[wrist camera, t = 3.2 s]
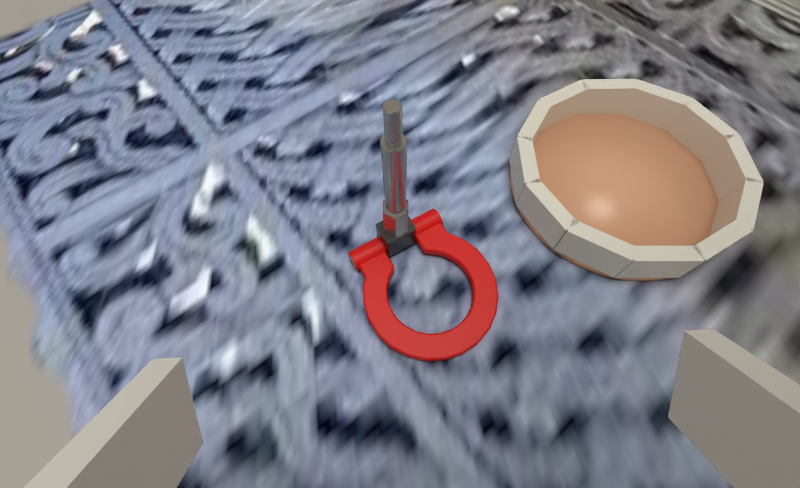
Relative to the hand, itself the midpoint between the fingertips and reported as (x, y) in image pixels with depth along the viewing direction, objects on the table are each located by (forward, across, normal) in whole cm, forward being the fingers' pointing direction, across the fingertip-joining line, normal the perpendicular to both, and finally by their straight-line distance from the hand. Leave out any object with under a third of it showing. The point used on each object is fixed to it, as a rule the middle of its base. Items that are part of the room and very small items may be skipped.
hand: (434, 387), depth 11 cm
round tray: (+20, +15, +2) cm, 25 cm away
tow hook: (+15, +1, -4) cm, 15 cm away
